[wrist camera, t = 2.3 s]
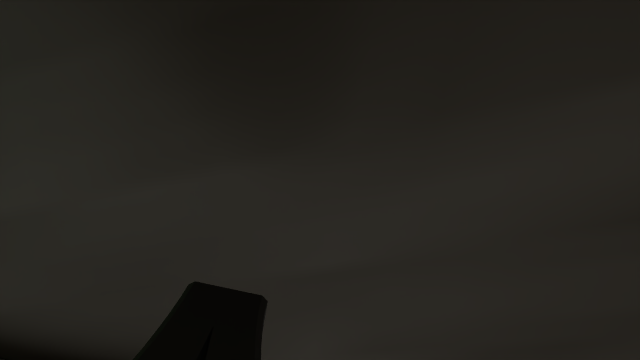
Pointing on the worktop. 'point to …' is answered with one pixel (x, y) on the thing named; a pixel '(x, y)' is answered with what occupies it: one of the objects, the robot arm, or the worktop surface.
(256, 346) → the robot arm
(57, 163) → the worktop surface
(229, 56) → the worktop surface
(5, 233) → the worktop surface
